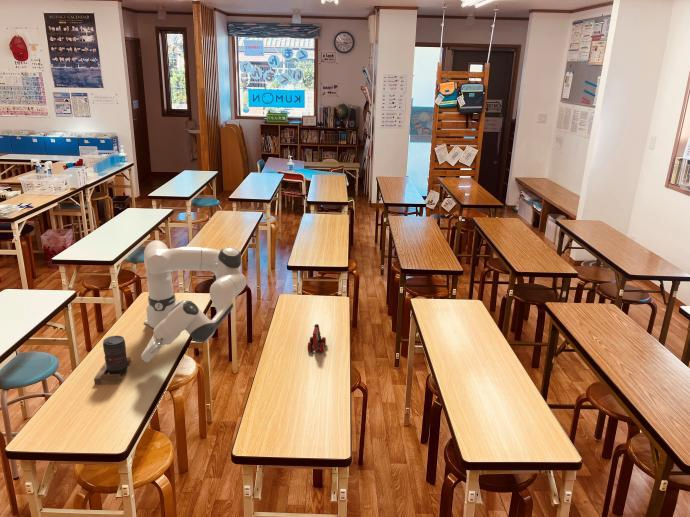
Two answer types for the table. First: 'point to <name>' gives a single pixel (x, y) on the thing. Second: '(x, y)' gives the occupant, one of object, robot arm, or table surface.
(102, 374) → the lens cradle
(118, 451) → the table surface
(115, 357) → the camera lens
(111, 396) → the table surface
